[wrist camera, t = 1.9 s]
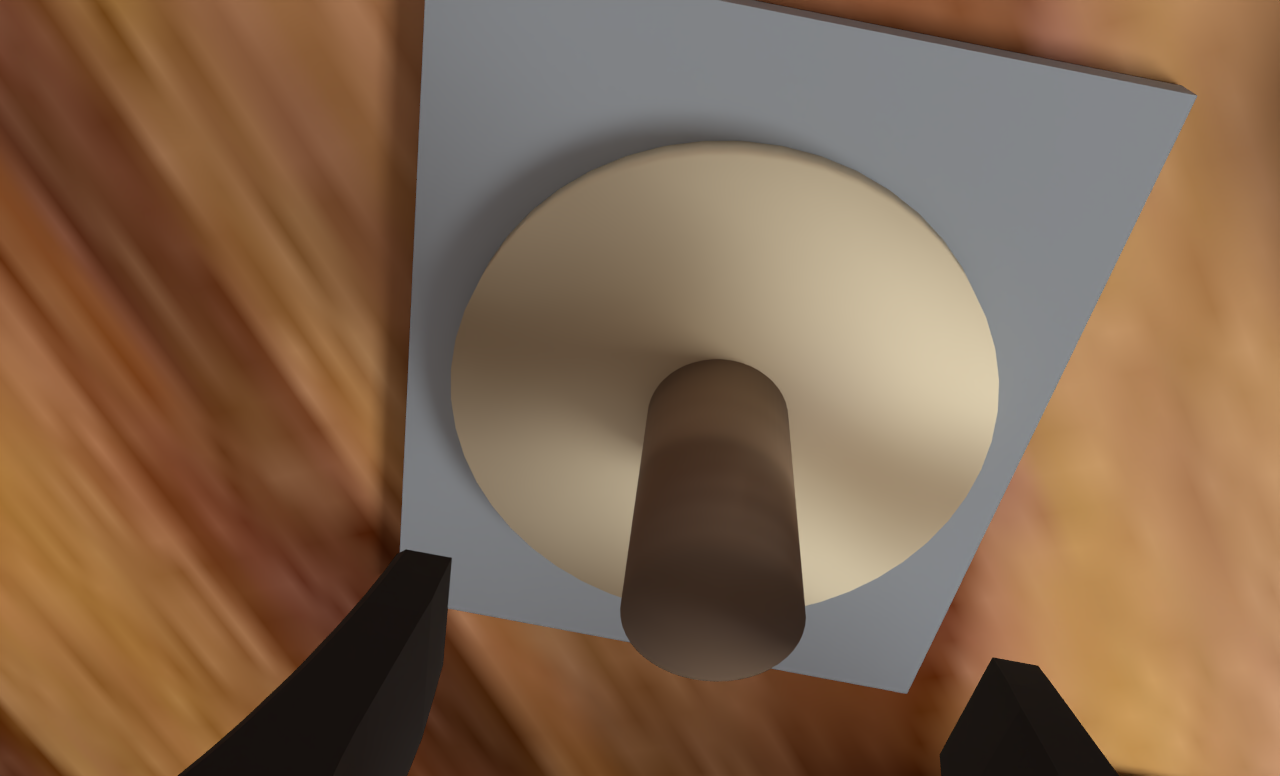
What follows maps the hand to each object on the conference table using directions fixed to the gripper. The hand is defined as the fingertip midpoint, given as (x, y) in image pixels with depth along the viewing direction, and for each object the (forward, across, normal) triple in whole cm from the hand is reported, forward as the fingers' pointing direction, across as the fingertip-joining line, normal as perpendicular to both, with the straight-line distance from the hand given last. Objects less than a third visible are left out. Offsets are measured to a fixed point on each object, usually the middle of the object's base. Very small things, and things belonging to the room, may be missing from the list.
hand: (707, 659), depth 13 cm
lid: (+7, 0, 0) cm, 7 cm away
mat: (+7, 0, 0) cm, 7 cm away
